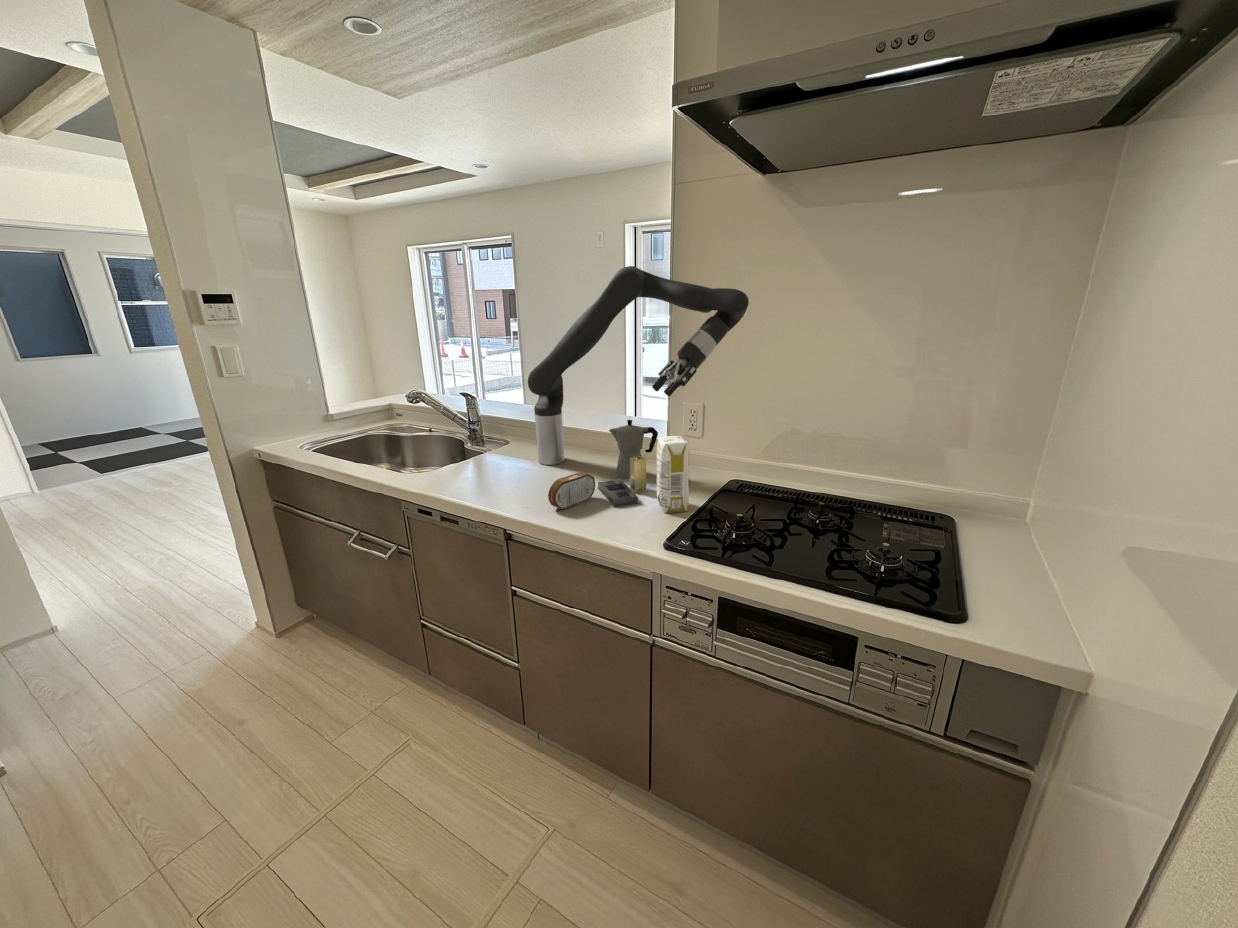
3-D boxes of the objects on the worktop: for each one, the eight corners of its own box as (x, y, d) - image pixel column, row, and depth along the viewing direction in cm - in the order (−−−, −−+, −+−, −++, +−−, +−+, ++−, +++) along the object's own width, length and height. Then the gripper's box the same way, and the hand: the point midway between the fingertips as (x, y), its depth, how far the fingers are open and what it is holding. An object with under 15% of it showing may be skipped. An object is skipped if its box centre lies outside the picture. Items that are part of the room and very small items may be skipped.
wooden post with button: (629, 489, 144) (628, 457, 141) (642, 487, 145) (642, 455, 142) (633, 493, 141) (633, 460, 137) (647, 491, 142) (647, 458, 139)
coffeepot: (608, 478, 153) (606, 423, 147) (612, 469, 162) (610, 416, 156) (657, 479, 151) (657, 423, 146) (658, 469, 160) (658, 416, 154)
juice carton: (662, 515, 126) (662, 445, 120) (654, 502, 134) (654, 436, 128) (690, 512, 127) (692, 443, 121) (681, 500, 135) (682, 434, 129)
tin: (590, 495, 140) (589, 467, 138) (597, 498, 138) (596, 470, 136) (548, 510, 130) (546, 481, 128) (555, 514, 128) (553, 484, 126)
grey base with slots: (598, 488, 145) (597, 482, 144) (620, 485, 147) (620, 479, 146) (614, 507, 132) (614, 500, 131) (638, 503, 134) (638, 496, 133)
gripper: (678, 338, 145) (642, 379, 145) (701, 342, 132) (661, 387, 132) (693, 356, 148) (658, 396, 148) (717, 361, 135) (679, 404, 135)
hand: (660, 391), depth 140 cm, fingers open, 8 cm apart
